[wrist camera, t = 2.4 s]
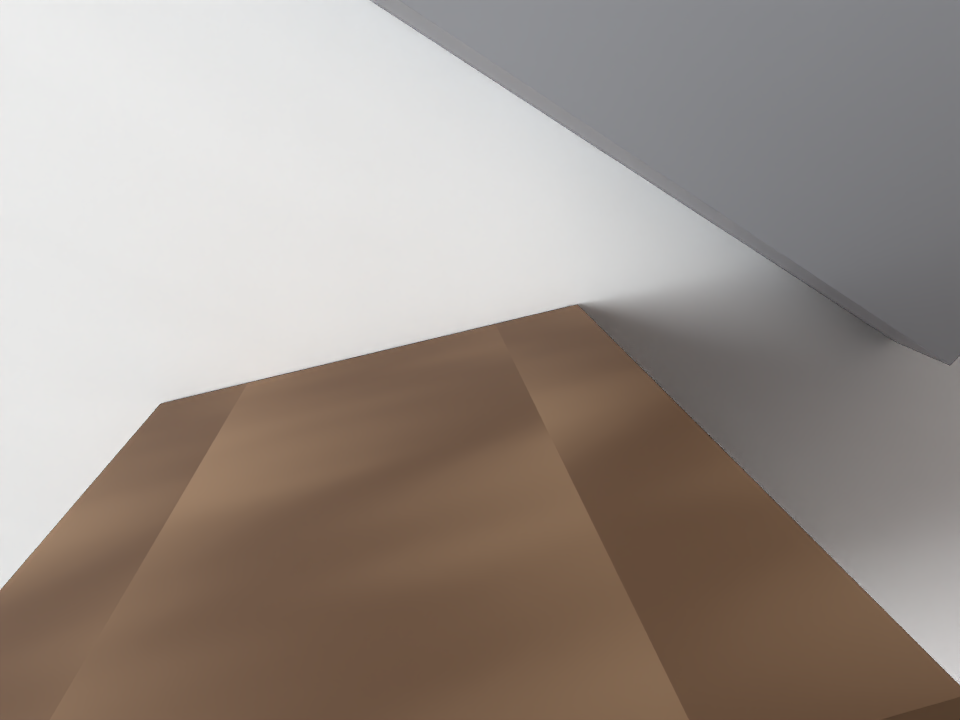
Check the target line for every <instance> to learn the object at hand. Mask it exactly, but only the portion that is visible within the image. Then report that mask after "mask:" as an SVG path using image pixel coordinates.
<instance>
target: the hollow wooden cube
mask: <svg viewBox="0 0 960 720" xmlns="http://www.w3.org/2000/svg"><path fill="white" fill-rule="evenodd" d="M0 720H960V685H959V684H958V683H957V682H956V681H955V680H954V679H953V678H952V677H951V676H950V675H949V674H948V673H947V672H946V671H945V670H944V669H943V668H942V667H941V666H940V665H939V664H938V663H937V662H936V661H935V660H934V659H933V658H932V657H931V656H930V655H929V654H928V653H927V652H926V651H925V650H924V649H923V648H922V647H921V646H920V645H919V644H918V643H917V642H916V641H915V640H914V639H913V638H912V637H911V636H910V635H909V634H908V633H907V632H906V631H905V630H904V629H903V628H902V627H901V626H900V625H899V624H898V623H897V622H896V621H895V620H894V619H893V618H892V617H891V616H890V615H889V614H888V613H887V612H886V611H885V610H884V609H883V608H882V607H881V606H880V605H879V604H878V603H877V602H876V601H875V600H874V599H873V598H872V597H871V596H870V595H869V594H867V593H866V592H865V591H864V590H863V589H862V588H861V587H860V586H859V585H858V584H857V583H856V582H855V581H854V580H853V579H852V578H851V577H850V576H849V575H848V574H847V573H846V572H845V571H844V570H843V569H842V568H841V567H840V566H839V565H838V564H837V563H836V562H835V561H834V560H833V559H832V558H831V557H830V556H829V555H828V554H827V553H826V552H825V551H824V550H823V549H822V548H821V547H820V546H819V545H818V544H817V543H816V542H815V541H814V540H813V539H812V538H811V537H810V536H809V535H808V534H807V533H806V532H805V531H804V530H803V529H802V528H801V527H800V526H799V525H798V524H797V523H796V522H795V521H794V520H793V519H792V518H791V517H790V516H789V515H788V514H787V513H786V512H785V511H784V510H783V509H782V508H781V507H780V506H779V505H778V504H777V503H776V502H775V501H774V500H773V499H772V498H771V497H770V496H769V495H768V494H767V493H766V492H765V491H764V490H763V489H762V488H761V487H760V486H759V485H758V484H757V483H756V482H755V481H754V480H753V479H752V478H751V477H750V476H749V475H748V474H747V473H746V472H745V471H744V470H743V469H742V468H741V467H740V466H739V465H738V464H737V463H736V462H735V461H734V460H733V459H732V458H731V457H730V456H729V455H728V454H727V453H726V452H725V451H724V450H723V449H722V448H721V447H720V446H719V445H718V444H717V443H716V442H715V441H714V440H713V439H712V438H711V437H710V436H709V435H708V434H707V433H706V432H705V431H704V430H703V429H702V428H701V427H700V426H699V425H698V424H697V423H696V422H695V421H694V420H693V419H692V418H691V417H690V416H689V415H688V414H687V413H686V412H685V411H684V410H683V409H682V408H681V407H680V406H679V405H678V404H677V403H676V402H675V401H674V400H673V399H672V398H671V397H670V396H669V395H668V394H667V393H666V392H665V391H664V390H663V389H662V388H661V387H660V386H659V385H658V384H657V383H656V382H655V381H654V380H653V379H652V378H651V377H650V376H649V375H648V374H647V373H646V372H645V371H644V370H643V369H642V368H641V367H640V366H639V365H638V364H637V363H636V362H635V361H634V360H633V359H632V358H631V357H630V356H629V355H628V354H627V353H626V352H625V351H624V350H623V349H622V348H621V347H620V346H619V345H618V344H617V343H616V342H615V341H614V340H613V339H612V338H611V337H610V336H609V335H608V334H607V333H606V332H605V331H604V330H603V329H602V328H601V327H600V326H599V325H598V324H597V323H596V322H595V321H594V320H592V319H591V318H590V317H589V316H588V315H587V314H586V313H585V312H584V311H583V310H582V309H581V308H580V307H579V306H578V305H574V306H569V307H565V308H561V309H557V310H553V311H548V312H544V313H540V314H536V315H532V316H527V317H523V318H519V319H515V320H511V321H506V322H502V323H498V324H494V325H489V326H485V327H481V328H477V329H473V330H468V331H464V332H460V333H456V334H452V335H447V336H443V337H439V338H435V339H431V340H426V341H422V342H418V343H414V344H410V345H405V346H401V347H397V348H393V349H389V350H384V351H380V352H376V353H372V354H368V355H363V356H359V357H355V358H351V359H347V360H342V361H338V362H334V363H330V364H326V365H321V366H317V367H313V368H309V369H305V370H300V371H296V372H292V373H288V374H284V375H279V376H275V377H271V378H267V379H263V380H258V381H254V382H250V383H246V384H242V385H237V386H233V387H229V388H225V389H220V390H216V391H212V392H208V393H204V394H199V395H195V396H191V397H187V398H183V399H178V400H174V401H170V402H166V403H162V404H160V405H159V406H158V407H157V408H156V409H155V411H154V412H153V413H152V414H151V415H150V416H149V418H148V419H147V420H146V421H145V422H144V423H143V425H142V426H141V427H140V428H139V429H138V430H137V432H136V433H135V434H134V435H133V436H132V437H131V439H130V440H129V441H128V442H127V443H126V444H125V446H124V447H123V448H122V449H121V450H120V451H119V453H118V454H117V455H116V456H115V457H114V458H113V460H112V461H111V462H110V463H109V464H108V465H107V467H106V468H105V469H104V470H103V471H102V472H101V474H100V475H99V476H98V477H97V478H96V479H95V480H94V482H93V483H92V484H91V485H90V486H89V487H88V489H87V490H86V491H85V492H84V493H83V494H82V496H81V497H80V498H79V499H78V500H77V501H76V503H75V504H74V505H73V506H72V507H71V508H70V510H69V511H68V512H67V513H66V514H65V515H64V517H63V518H62V519H61V520H60V521H59V522H58V524H57V525H56V526H55V527H54V528H53V529H52V531H51V532H50V533H49V534H48V535H47V536H46V538H45V539H44V540H43V541H42V542H41V543H40V545H39V546H38V547H37V548H36V549H35V550H34V552H33V553H32V554H31V555H30V556H29V557H28V558H27V560H26V561H25V562H24V563H23V564H22V565H21V567H20V568H19V569H18V570H17V571H16V572H15V574H14V575H13V576H12V577H11V578H10V579H9V581H8V582H7V583H6V584H5V585H4V586H3V588H2V589H1V590H0Z"/></svg>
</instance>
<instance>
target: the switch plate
mask: <svg viewBox="0 0 960 720" xmlns="http://www.w3.org/2000/svg"><path fill="white" fill-rule="evenodd" d="M370 1H372V2H374V3H375V4H377V5H378V6H380V7H381V8H383V9H384V10H386V11H387V12H389V13H390V14H392V15H394V16H395V17H397V18H398V19H400V20H401V21H403V22H404V23H406V24H407V25H409V26H410V27H412V28H414V29H415V30H417V31H418V32H420V33H421V34H423V35H424V36H426V37H427V38H429V39H430V40H432V41H434V42H435V43H437V44H438V45H440V46H441V47H443V48H444V49H446V50H447V51H449V52H450V53H452V54H454V55H455V56H457V57H458V58H460V59H461V60H463V61H464V62H466V63H467V64H469V65H470V66H472V67H474V68H475V69H477V70H478V71H480V72H481V73H483V74H484V75H486V76H487V77H489V78H490V79H492V80H494V81H495V82H497V83H498V84H500V85H501V86H503V87H504V88H506V89H507V90H509V91H510V92H512V93H513V94H515V95H517V96H518V97H520V98H521V99H523V100H524V101H526V102H527V103H529V104H530V105H532V106H533V107H535V108H537V109H538V110H540V111H541V112H543V113H544V114H546V115H547V116H549V117H550V118H552V119H553V120H555V121H557V122H558V123H560V124H561V125H563V126H564V127H566V128H567V129H569V130H570V131H572V132H573V133H575V134H577V135H578V136H580V137H581V138H583V139H584V140H586V141H587V142H589V143H590V144H592V145H593V146H595V147H597V148H598V149H600V150H601V151H603V152H604V153H606V154H607V155H609V156H610V157H612V158H613V159H615V160H617V161H618V162H620V163H621V164H623V165H624V166H626V167H627V168H629V169H630V170H632V171H633V172H635V173H637V174H638V175H640V176H641V177H643V178H644V179H646V180H647V181H649V182H650V183H652V184H653V185H655V186H657V187H658V188H660V189H661V190H663V191H664V192H666V193H667V194H669V195H670V196H672V197H673V198H675V199H677V200H678V201H680V202H681V203H683V204H684V205H686V206H687V207H689V208H690V209H692V210H693V211H695V212H696V213H698V214H700V215H701V216H703V217H704V218H706V219H707V220H709V221H710V222H712V223H713V224H715V225H716V226H718V227H720V228H721V229H723V230H724V231H726V232H727V233H729V234H730V235H732V236H733V237H735V238H736V239H738V240H740V241H741V242H743V243H744V244H746V245H747V246H749V247H750V248H752V249H753V250H755V251H756V252H758V253H760V254H761V255H763V256H764V257H766V258H767V259H769V260H770V261H772V262H773V263H775V264H776V265H778V266H780V267H781V268H783V269H784V270H786V271H787V272H789V273H790V274H792V275H793V276H795V277H796V278H798V279H800V280H801V281H803V282H804V283H806V284H807V285H809V286H810V287H812V288H813V289H815V290H816V291H818V292H820V293H821V294H823V295H824V296H826V297H827V298H829V299H830V300H832V301H833V302H835V303H836V304H838V305H840V306H841V307H843V308H844V309H846V310H847V311H849V312H850V313H852V314H853V315H855V316H856V317H858V318H860V319H861V320H863V321H864V322H866V323H867V324H869V325H870V326H872V327H873V328H875V329H876V330H878V331H880V332H881V333H883V334H884V335H886V336H887V337H889V338H890V339H892V340H893V341H895V342H897V343H899V344H902V345H904V346H906V347H909V348H911V349H913V350H915V351H918V352H920V353H922V354H925V355H927V356H929V357H932V358H934V359H936V360H939V361H941V362H943V363H945V364H948V365H951V364H952V363H953V362H954V361H955V360H956V359H957V358H958V357H959V355H960V0H370Z"/></svg>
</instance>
